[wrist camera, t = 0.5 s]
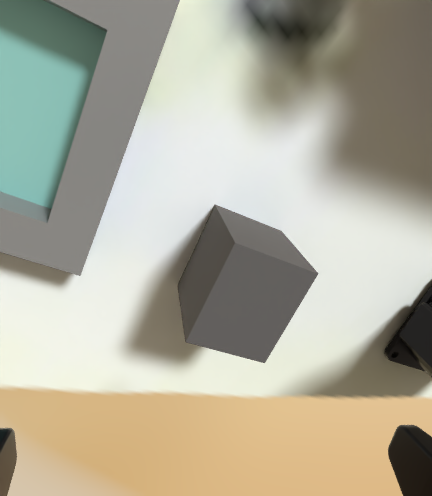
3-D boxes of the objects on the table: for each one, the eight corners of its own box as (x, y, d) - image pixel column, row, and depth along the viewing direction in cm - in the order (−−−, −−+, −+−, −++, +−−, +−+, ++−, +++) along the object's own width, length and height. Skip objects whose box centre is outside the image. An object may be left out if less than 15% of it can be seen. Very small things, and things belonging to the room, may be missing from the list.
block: (283, 231, 20) (321, 274, 16) (243, 305, 22) (267, 363, 18) (214, 204, 19) (235, 242, 15) (177, 284, 21) (185, 342, 16)
